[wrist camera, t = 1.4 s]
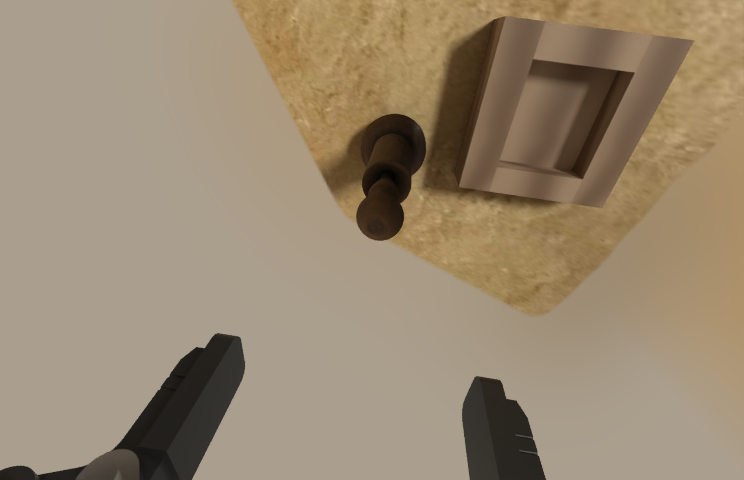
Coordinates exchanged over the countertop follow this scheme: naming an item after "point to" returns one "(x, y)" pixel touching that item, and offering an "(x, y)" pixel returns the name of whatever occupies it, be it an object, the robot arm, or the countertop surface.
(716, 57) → the countertop surface
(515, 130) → the brown flat square frame
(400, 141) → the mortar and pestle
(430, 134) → the countertop surface
